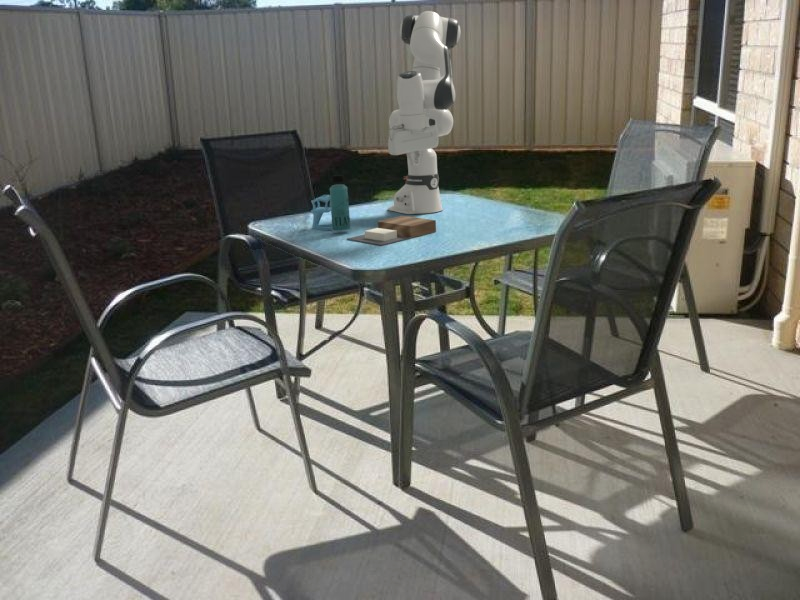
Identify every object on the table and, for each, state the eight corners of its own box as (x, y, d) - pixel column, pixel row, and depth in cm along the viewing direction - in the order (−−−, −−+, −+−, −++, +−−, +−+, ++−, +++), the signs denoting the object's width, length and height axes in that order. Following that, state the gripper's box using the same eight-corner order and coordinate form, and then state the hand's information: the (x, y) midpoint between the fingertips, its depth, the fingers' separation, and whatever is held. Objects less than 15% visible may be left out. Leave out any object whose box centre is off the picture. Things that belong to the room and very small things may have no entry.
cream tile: (377, 227, 276) (377, 234, 277) (364, 231, 272) (364, 238, 273) (396, 230, 270) (397, 237, 271) (383, 233, 266) (384, 241, 267)
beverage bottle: (333, 235, 282) (329, 176, 276) (331, 231, 288) (326, 174, 282) (352, 233, 283) (348, 175, 277) (349, 230, 289) (345, 173, 283)
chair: (317, 226, 300) (314, 193, 296) (338, 226, 298) (336, 192, 294) (309, 230, 293) (306, 196, 289) (331, 230, 290) (328, 196, 287)
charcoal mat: (347, 239, 274) (346, 238, 274) (375, 232, 282) (375, 231, 282) (381, 245, 262) (381, 244, 262) (410, 238, 270) (410, 237, 270)
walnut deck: (378, 232, 282) (377, 221, 281) (403, 226, 290) (402, 215, 289) (410, 238, 271) (410, 226, 270) (436, 231, 279) (435, 220, 278)
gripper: (395, 127, 262) (398, 170, 267) (440, 119, 275) (442, 160, 280) (382, 126, 267) (385, 169, 271) (427, 118, 280) (429, 159, 284)
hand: (414, 164), depth 275 cm, fingers closed
